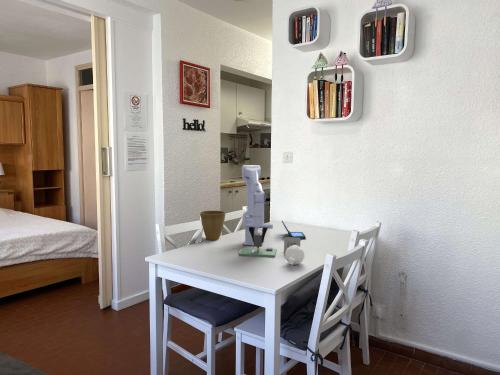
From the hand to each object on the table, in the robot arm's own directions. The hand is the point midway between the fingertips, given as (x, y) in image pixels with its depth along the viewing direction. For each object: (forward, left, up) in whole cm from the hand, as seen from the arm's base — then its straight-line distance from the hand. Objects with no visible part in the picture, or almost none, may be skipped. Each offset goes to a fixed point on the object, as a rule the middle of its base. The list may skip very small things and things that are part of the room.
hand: (258, 242), depth 195 cm
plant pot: (-27, -30, -6) cm, 41 cm away
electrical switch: (-3, +17, -6) cm, 18 cm away
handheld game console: (-41, +17, -6) cm, 45 cm away
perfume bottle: (+17, +18, -6) cm, 25 cm away
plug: (0, 0, -2) cm, 2 cm away
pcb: (0, 0, -6) cm, 6 cm away
